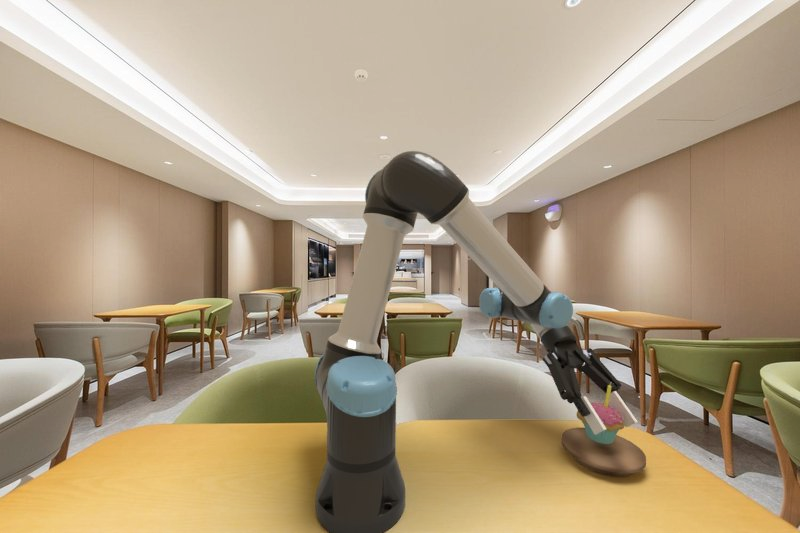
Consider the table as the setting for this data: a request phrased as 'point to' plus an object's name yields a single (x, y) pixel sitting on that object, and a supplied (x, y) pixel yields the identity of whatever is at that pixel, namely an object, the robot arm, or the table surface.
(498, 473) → the table surface
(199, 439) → the table surface
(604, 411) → the cupcake
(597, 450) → the brown plate
